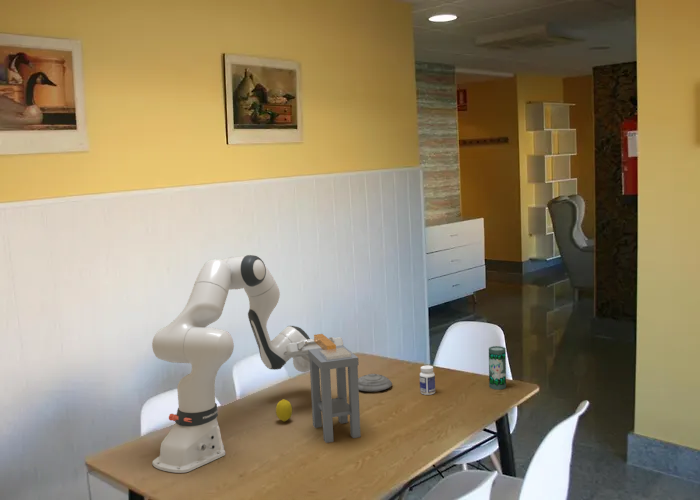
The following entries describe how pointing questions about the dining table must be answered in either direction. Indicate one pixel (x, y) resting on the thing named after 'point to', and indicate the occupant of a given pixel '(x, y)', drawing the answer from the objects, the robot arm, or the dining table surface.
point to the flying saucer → (373, 383)
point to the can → (497, 367)
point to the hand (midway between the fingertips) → (318, 340)
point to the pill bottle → (427, 380)
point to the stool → (337, 405)
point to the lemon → (284, 410)
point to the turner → (330, 349)
